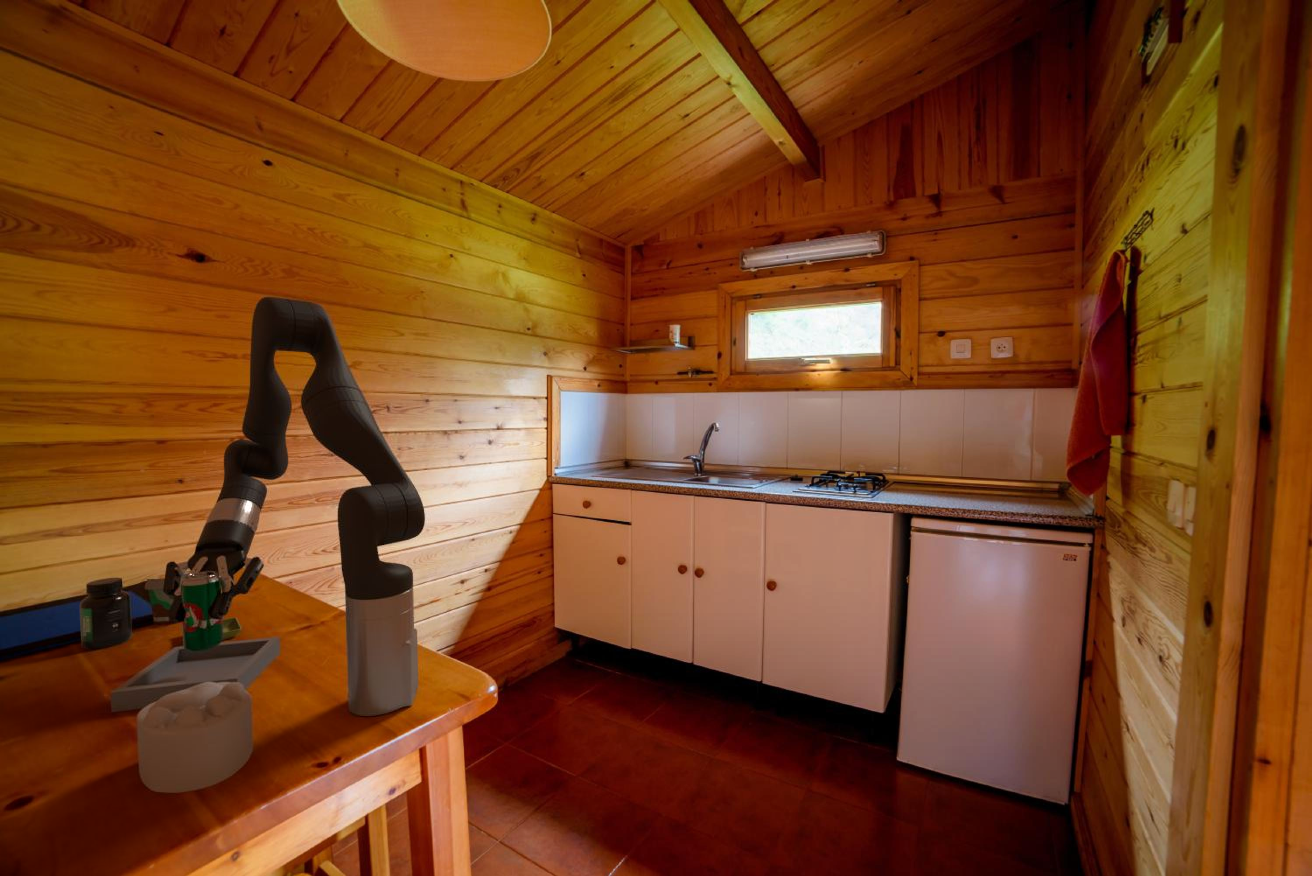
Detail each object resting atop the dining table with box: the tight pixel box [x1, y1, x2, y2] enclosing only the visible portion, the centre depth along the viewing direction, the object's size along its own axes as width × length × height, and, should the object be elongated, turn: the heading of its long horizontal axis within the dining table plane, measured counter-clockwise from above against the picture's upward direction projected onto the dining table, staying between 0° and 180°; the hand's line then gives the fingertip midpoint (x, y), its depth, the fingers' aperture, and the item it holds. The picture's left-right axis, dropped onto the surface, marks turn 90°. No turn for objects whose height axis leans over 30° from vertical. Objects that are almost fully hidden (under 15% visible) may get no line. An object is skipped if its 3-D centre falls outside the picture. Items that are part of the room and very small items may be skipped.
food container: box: [144, 571, 190, 626], centre depth 116 cm, size 12×6×10 cm, turn 168°
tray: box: [110, 636, 281, 713], centre depth 89 cm, size 16×16×3 cm
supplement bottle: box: [79, 577, 133, 651], centre depth 104 cm, size 7×7×12 cm
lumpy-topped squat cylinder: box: [136, 682, 254, 794], centre depth 68 cm, size 10×13×9 cm
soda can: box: [181, 571, 224, 652], centre depth 89 cm, size 5×5×12 cm
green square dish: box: [181, 617, 243, 641], centre depth 107 cm, size 9×9×2 cm
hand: (196, 618), depth 87 cm, fingers closed on soda can, 5 cm apart
